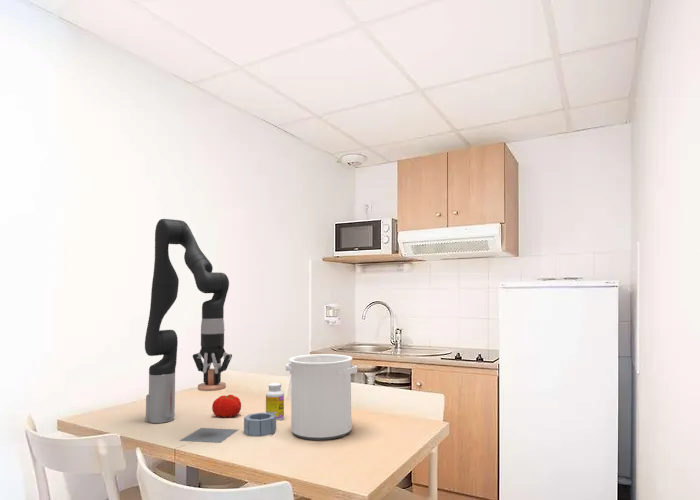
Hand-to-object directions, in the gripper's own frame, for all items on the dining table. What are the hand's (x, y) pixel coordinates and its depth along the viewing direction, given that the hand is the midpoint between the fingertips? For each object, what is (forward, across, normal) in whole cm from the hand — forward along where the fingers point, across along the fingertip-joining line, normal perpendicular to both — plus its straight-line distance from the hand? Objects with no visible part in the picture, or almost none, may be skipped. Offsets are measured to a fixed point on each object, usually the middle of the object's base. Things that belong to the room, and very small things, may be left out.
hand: (212, 384), depth 160 cm
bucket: (+17, +35, +11) cm, 40 cm away
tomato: (+17, -6, +25) cm, 31 cm away
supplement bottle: (+17, +14, +23) cm, 32 cm away
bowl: (+17, +15, +6) cm, 23 cm away
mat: (+17, 0, 0) cm, 17 cm away
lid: (+1, 0, 0) cm, 1 cm away
